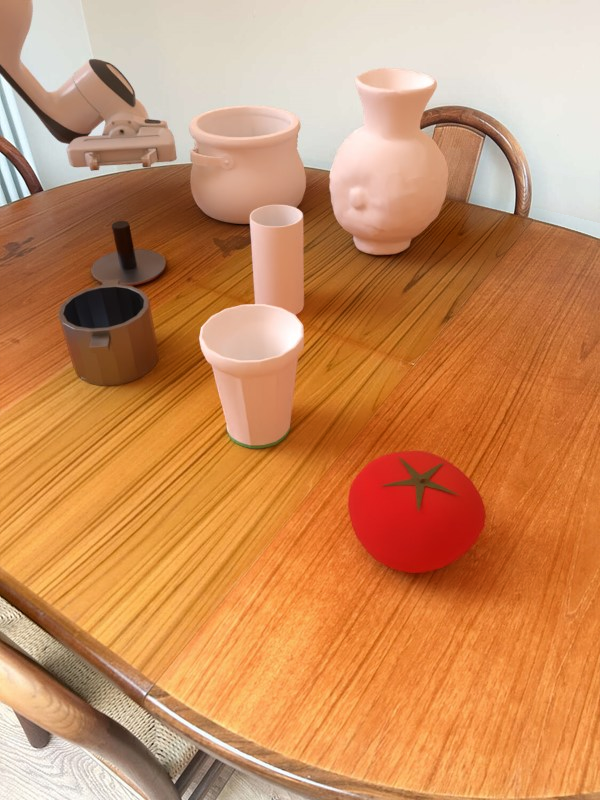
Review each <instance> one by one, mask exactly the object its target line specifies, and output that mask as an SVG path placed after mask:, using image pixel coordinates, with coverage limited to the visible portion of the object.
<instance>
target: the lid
mask: <svg viewBox="0 0 600 800" xmlns="http://www.w3.org/2000/svg"><path fill="white" fill-rule="evenodd" d="M130 225H131V224H130V223H129V221H126V220H117V221H115V222H113V223H112V224H111V230H112V235H113V238H114V243H115V244H114V245H115V248H116V250H115V251H113V252H109V253H107V254H105V255H103V256H101V257H100V258H97V260H96V261H95V262H94V263H92V266H91V267H90V273H91V276H92V278H93V280H95V281H97V282H98V283H99V284H102V283H103V281H105V280H118V279H119V283H120V285H127V286H132V287H134V286H138V285H141V284H146V283H148V282H150V281H152V280H154V279H157V278H158V277H159V276H160V275H162V274H163V272H164V271H165V269H166V267H167V262H166V259H165V257H164V256H163V255H162V254H160V253H159V252H157V251H154V250H151V249H146V248H135V246H134V241H133V237H132V231H131V226H130Z"/></svg>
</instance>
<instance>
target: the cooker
mask: <svg viewBox="0 0 600 800" xmlns="http://www.w3.org/2000/svg"><path fill="white" fill-rule="evenodd" d="M57 316H58V319H59V323H60V326H61V330H62V334H63V336H64V340H65V343H66V346H67V350H68V353H69V357H70V361H71V363H72V364H71V365H72V367H73V369H74V371H75V374H76V375H77V377H78V378H79V379H81V380H82V381H83V382H86V383H88V384H91V385H94V386H101V387H111V386H112V387H115V386H121V385H126V384H128V383H132V382H135V381H137V380H139V379H141V378H143V377H144V376H146V375H148V374H149V373H150V372H151V371H152V370H153V369H154V368H155V366H156V365H157V363H158V360H159V346H158V341H157V336H156V330H155V324H154V320H153V315H152V308H151V303H150V298H149V297H148V296H147V294H146V293H145V292H144V291H143V290H141V289H139V288H136V287H134V286H127V285H120V283H119V279H118V280H105V281H103V283H101V285H97V286H93V287H89V288H85V289H82V290H80V291H78V292H77V293H74V294H73V295H71V296H69V297H68V298H67V299H66V300H65V301H64V302H62V304H61V305H60V307H59V310H58V314H57Z"/></svg>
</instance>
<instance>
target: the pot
mask: <svg viewBox="0 0 600 800" xmlns="http://www.w3.org/2000/svg"><path fill="white" fill-rule="evenodd" d="M188 130H189V134H190V136H191V138H192V139H193V140H194V146H193V148H192V149H190V151H189V152H190V163H192V165H191V170H190V181H189V185H190V189H191V194H192V198H193V199H194V201H195V203H196V205H197V207H198V208H200V210H201V211H202V212H203V213H204V214H205V215H206V216H208V217H210V218H212V219H214V220H217V221H220V222H224V223H230V224H236V225H237V224H239V225H250V214H251V213H252V212H253V211H254V210H255V209H257V208H260V207H263V206H268V205H287V206H292V207H295V208H297V209H298V207H299V205H300V204H301V203H302V201H303V198H304V195H305V192H306V188H307V176H306V170H305V166H304V163H303V160H302V157H301V155H300V153H299V151H298V139H299V132H300V130H301V120H300V118H299V117H298V116H297V115H296V114H295V113H293V112H291V111H289V110H286V109H283V108H279V107H275V106H268V105H233V106H225V107H219V108H213V109H211V110H208V111H204V112H202V113H200V114H198V115H196V116H195V117H193V118H192V119H191V121H190V123H189V126H188Z"/></svg>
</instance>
